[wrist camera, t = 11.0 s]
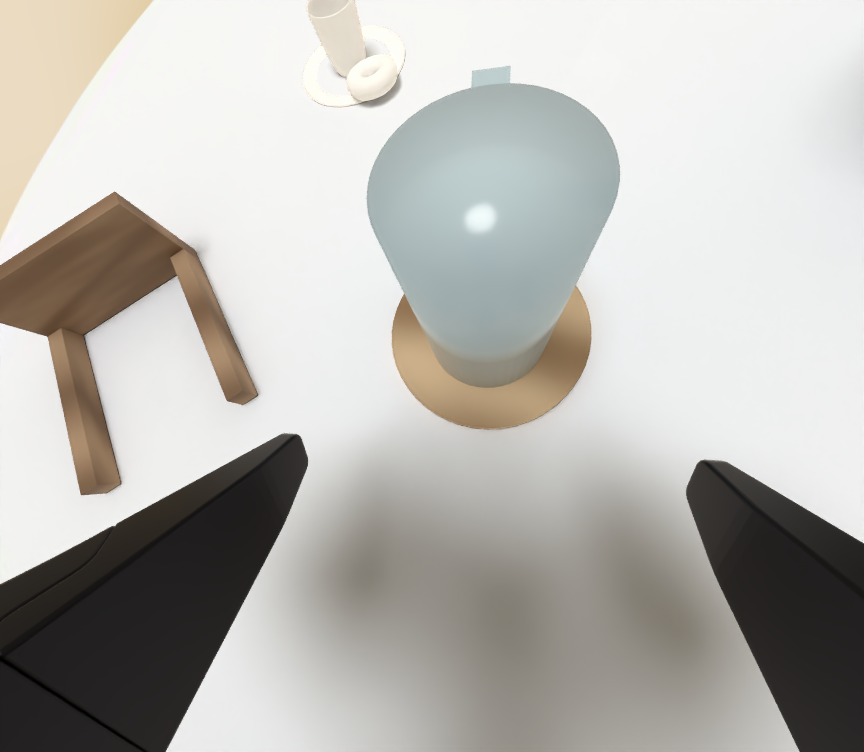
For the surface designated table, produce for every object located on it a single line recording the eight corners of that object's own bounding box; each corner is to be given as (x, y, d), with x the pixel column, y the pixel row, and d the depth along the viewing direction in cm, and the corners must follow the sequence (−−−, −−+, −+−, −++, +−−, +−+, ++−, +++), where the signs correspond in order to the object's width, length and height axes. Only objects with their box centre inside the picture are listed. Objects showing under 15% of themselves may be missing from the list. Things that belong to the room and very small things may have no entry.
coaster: (581, 444, 15) (585, 444, 15) (377, 413, 17) (374, 411, 17) (593, 254, 17) (596, 248, 17) (412, 246, 19) (410, 241, 19)
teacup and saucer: (411, 105, 23) (395, 32, 19) (305, 132, 24) (270, 69, 20) (402, 22, 25) (386, -58, 22) (306, 50, 26) (275, -21, 23)
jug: (547, 389, 16) (630, 285, 6) (427, 386, 17) (352, 291, 7) (545, 231, 18) (604, -13, 9) (438, 236, 19) (391, 23, 10)
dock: (257, 395, 19) (178, 371, 14) (106, 493, 19) (-27, 503, 14) (194, 250, 22) (114, 191, 17) (67, 331, 22) (-47, 295, 17)
